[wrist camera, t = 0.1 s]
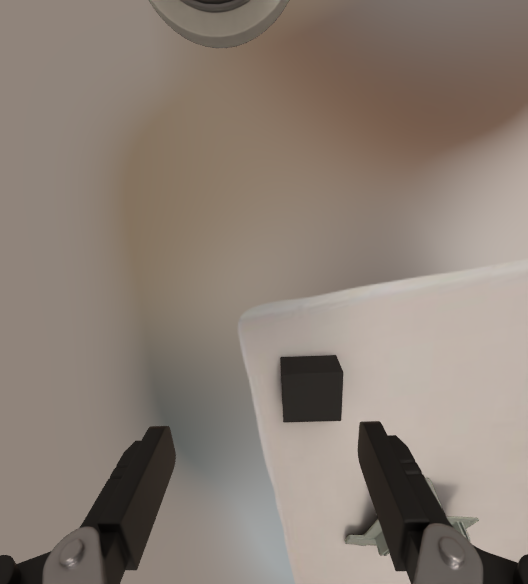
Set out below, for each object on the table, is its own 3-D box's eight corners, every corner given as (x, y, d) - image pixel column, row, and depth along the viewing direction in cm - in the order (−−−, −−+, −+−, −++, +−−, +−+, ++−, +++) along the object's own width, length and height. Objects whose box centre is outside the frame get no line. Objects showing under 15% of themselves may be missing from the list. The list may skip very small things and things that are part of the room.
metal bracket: (372, 532, 29) (513, 539, 28) (358, 471, 33) (479, 477, 33) (345, 562, 37) (454, 567, 37) (337, 509, 42) (433, 514, 41)
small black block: (280, 357, 29) (281, 374, 26) (336, 355, 28) (343, 372, 26) (282, 402, 31) (283, 422, 28) (334, 400, 30) (341, 421, 27)
